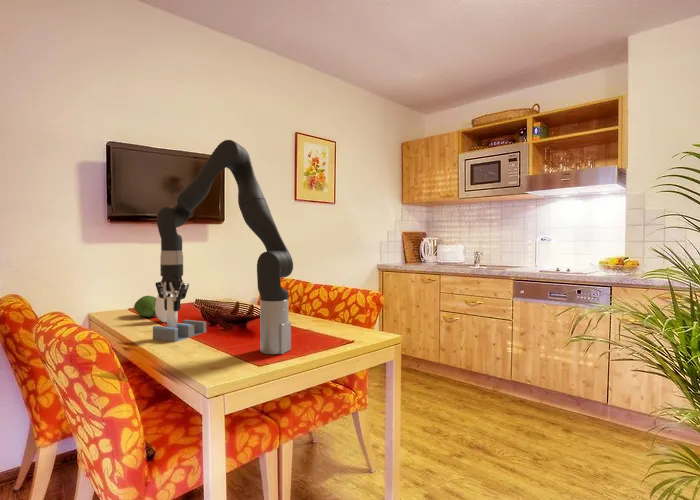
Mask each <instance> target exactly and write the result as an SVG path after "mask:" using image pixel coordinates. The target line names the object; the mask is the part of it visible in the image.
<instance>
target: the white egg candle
mask: <svg viewBox="0 0 700 500" xmlns="http://www.w3.org/2000/svg"><path fill="white" fill-rule="evenodd" d="M161 292H162V291H161ZM162 294H163V293H162ZM167 295H168V294H167ZM171 296H173V295H172V294H171ZM156 298H157V299H156V304H155V312H156V316H155V317H157V319H158V320H160V322H162V323H167V310H165V308H164V300H163V298H159V295H157V296H156Z"/></svg>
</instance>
